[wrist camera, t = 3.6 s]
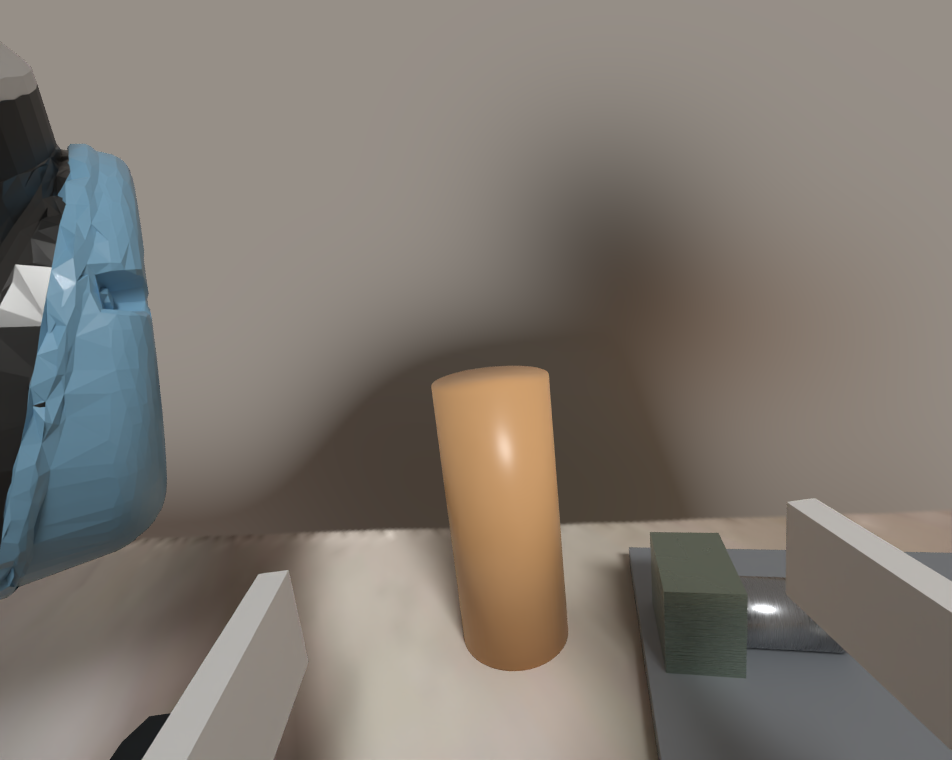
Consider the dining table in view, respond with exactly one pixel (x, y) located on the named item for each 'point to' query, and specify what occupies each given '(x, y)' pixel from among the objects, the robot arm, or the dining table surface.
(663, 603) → the shaft
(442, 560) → the dining table surface
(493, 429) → the orange cylinder
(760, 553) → the plate
